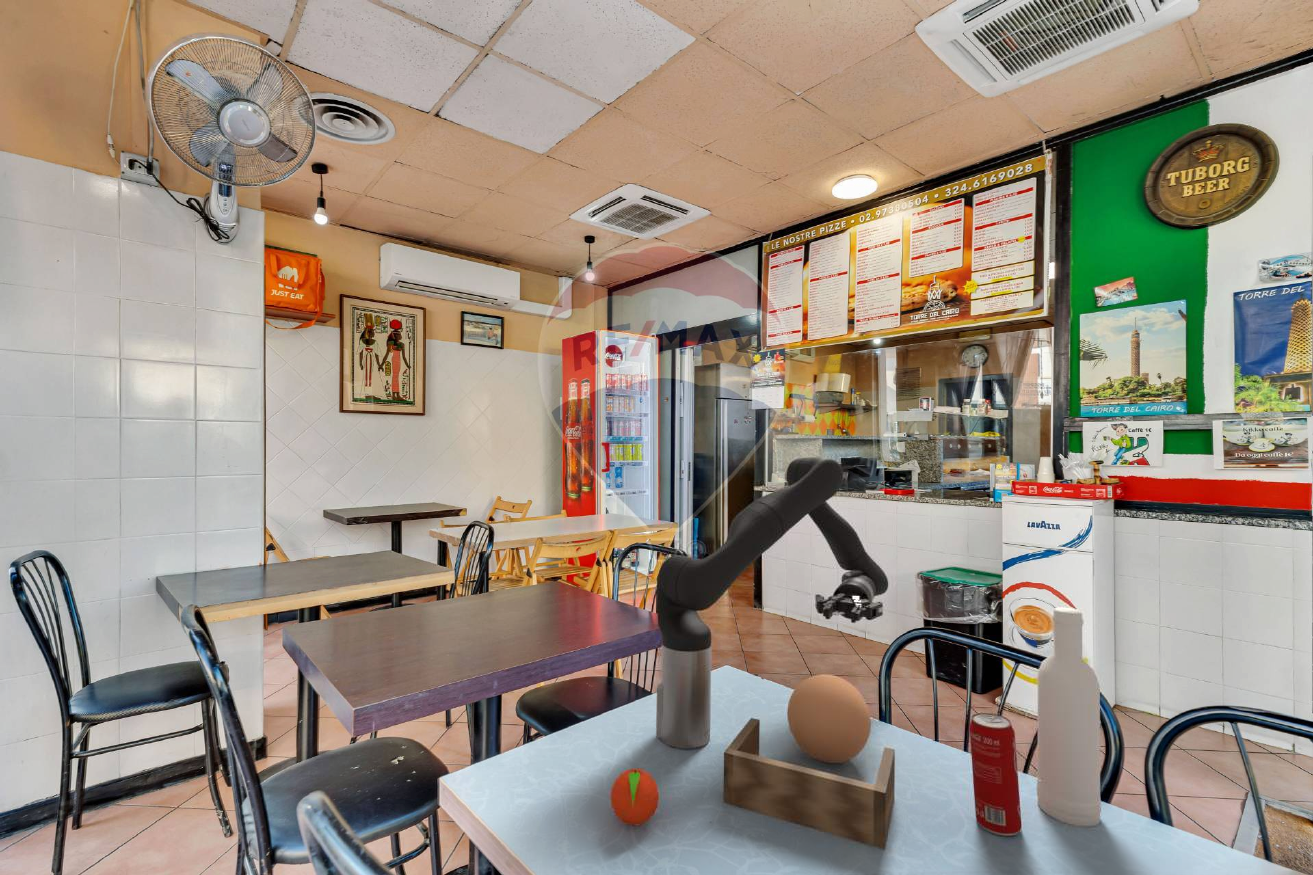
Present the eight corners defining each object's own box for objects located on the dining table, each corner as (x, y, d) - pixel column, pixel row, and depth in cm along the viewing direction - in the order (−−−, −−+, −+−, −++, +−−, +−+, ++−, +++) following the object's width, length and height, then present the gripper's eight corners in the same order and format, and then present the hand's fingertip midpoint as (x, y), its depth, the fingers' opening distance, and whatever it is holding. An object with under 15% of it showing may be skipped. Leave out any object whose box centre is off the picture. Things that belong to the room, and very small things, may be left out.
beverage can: (1028, 841, 83) (1028, 731, 83) (977, 834, 84) (977, 726, 84) (1011, 815, 89) (1011, 713, 89) (964, 809, 90) (964, 708, 90)
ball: (777, 766, 101) (778, 682, 102) (797, 732, 114) (798, 658, 114) (864, 788, 95) (865, 699, 96) (875, 749, 108) (875, 671, 108)
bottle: (1042, 819, 88) (1042, 613, 89) (1031, 791, 95) (1031, 601, 96) (1108, 833, 85) (1107, 619, 85) (1092, 803, 92) (1092, 606, 93)
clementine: (658, 842, 81) (658, 788, 82) (607, 840, 81) (607, 787, 82) (658, 807, 89) (659, 758, 90) (612, 805, 89) (613, 757, 90)
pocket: (723, 802, 91) (723, 752, 91) (750, 762, 103) (751, 717, 103) (885, 849, 80) (885, 792, 81) (894, 798, 92) (894, 749, 93)
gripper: (820, 576, 134) (803, 591, 118) (888, 583, 127) (879, 600, 112) (820, 610, 134) (802, 629, 118) (888, 618, 127) (879, 641, 112)
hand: (840, 615), depth 115 cm, fingers open, 4 cm apart
